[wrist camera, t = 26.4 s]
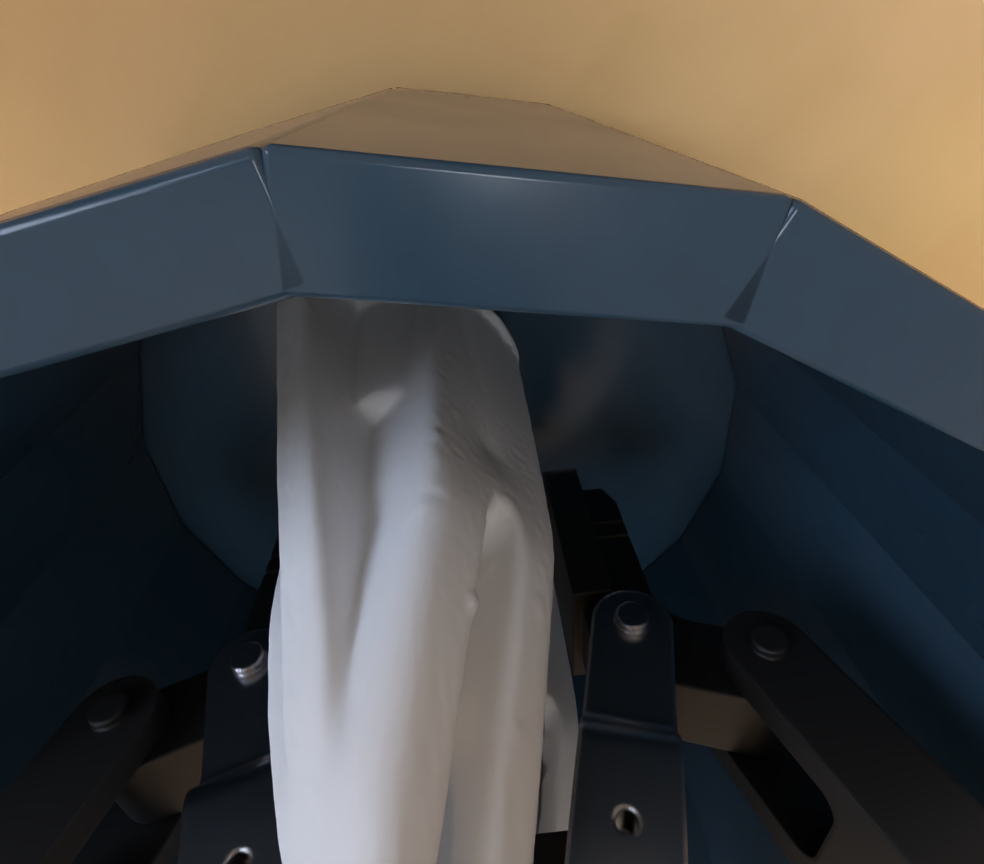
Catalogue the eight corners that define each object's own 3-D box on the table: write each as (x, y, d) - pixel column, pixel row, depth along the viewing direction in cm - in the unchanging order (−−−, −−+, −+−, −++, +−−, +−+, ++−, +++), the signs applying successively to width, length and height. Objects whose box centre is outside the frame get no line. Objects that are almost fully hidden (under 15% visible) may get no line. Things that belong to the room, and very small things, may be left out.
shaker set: (290, 241, 12) (-310, 913, 2) (491, 201, 12) (662, 761, 2) (427, 617, 18) (405, 1191, 9) (557, 595, 18) (671, 1158, 9)
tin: (241, 667, 20) (100, 1075, 12) (-39, 126, 11) (-1458, 302, 3) (709, 618, 20) (884, 986, 12) (823, 48, 11) (1834, -1, 3)
